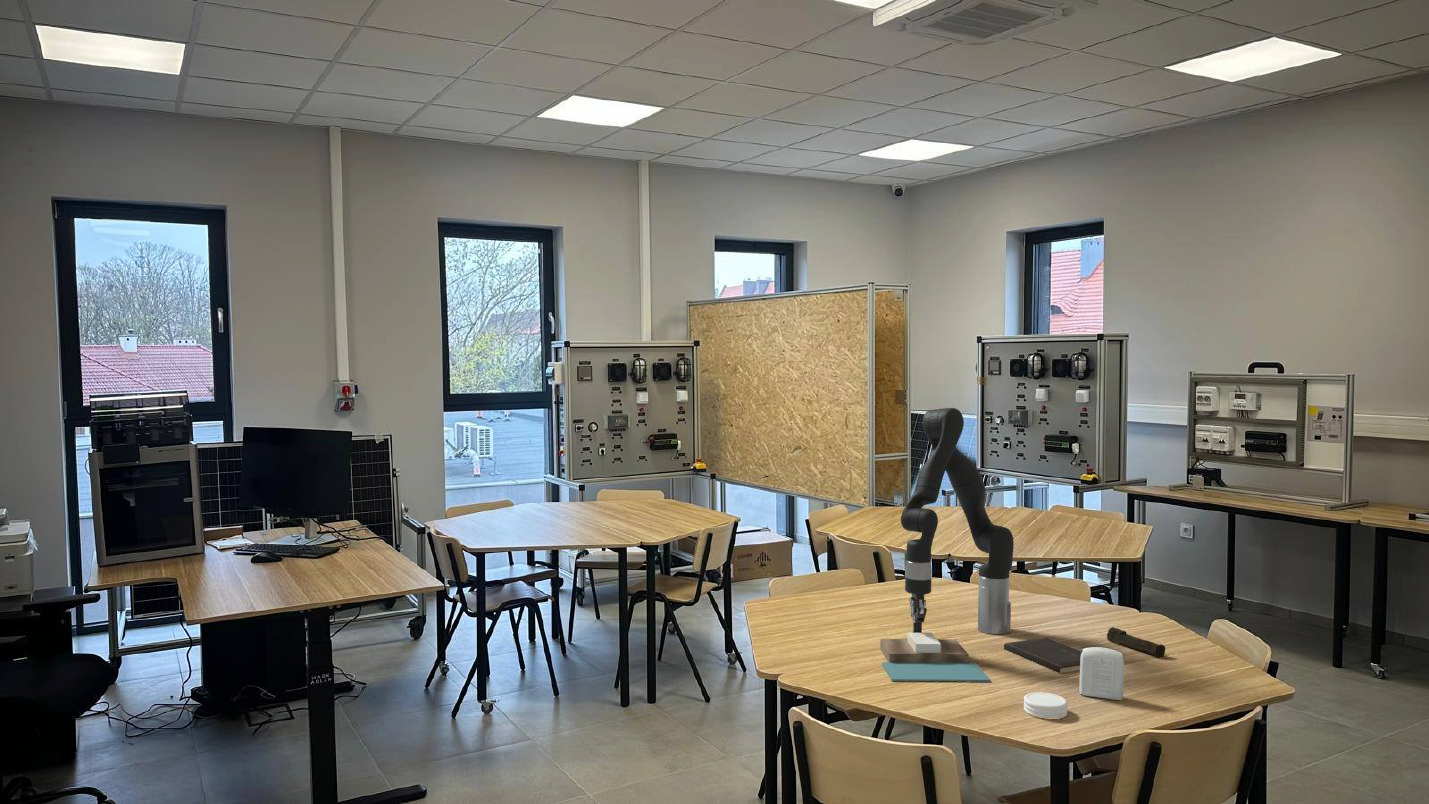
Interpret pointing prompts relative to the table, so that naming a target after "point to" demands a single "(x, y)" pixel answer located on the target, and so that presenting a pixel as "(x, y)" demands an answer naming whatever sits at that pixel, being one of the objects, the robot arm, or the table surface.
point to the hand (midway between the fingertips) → (917, 634)
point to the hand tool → (1135, 642)
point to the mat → (934, 671)
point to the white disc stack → (1045, 705)
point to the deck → (904, 653)
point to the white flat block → (924, 643)
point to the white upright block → (1101, 673)
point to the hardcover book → (1047, 654)
